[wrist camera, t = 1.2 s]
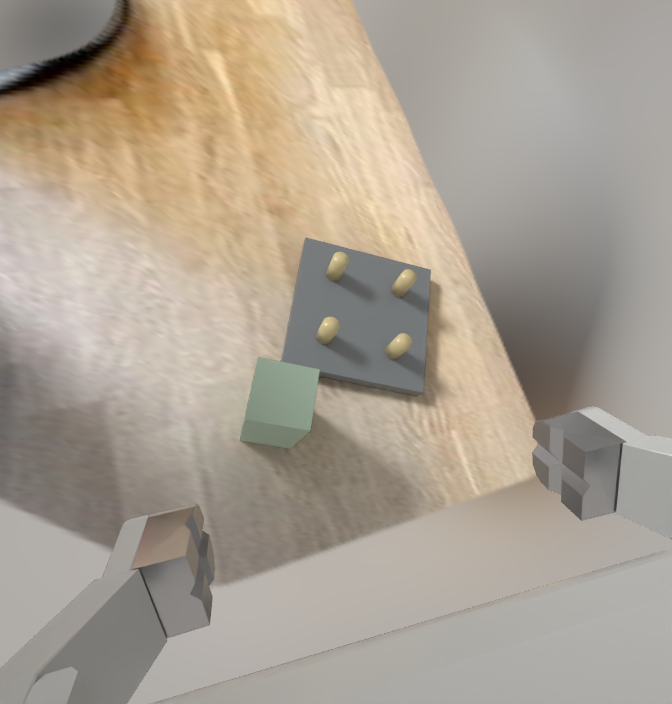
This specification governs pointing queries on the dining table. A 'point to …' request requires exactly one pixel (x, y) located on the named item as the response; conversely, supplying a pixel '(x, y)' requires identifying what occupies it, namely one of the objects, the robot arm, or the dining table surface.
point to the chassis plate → (359, 318)
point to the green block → (280, 403)
